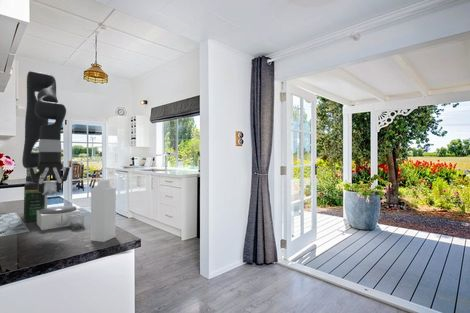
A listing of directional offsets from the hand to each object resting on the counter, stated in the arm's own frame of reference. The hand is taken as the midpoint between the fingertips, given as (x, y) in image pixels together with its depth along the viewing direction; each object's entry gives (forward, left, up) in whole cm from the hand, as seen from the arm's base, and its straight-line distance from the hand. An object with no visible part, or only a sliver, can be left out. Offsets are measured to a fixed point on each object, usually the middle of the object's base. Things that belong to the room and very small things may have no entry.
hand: (49, 192), depth 106 cm
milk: (+25, +13, -16) cm, 32 cm away
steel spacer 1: (0, 0, -1) cm, 1 cm away
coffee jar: (-26, -2, -16) cm, 31 cm away
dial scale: (-11, +5, -16) cm, 20 cm away
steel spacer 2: (0, +10, -16) cm, 19 cm away
